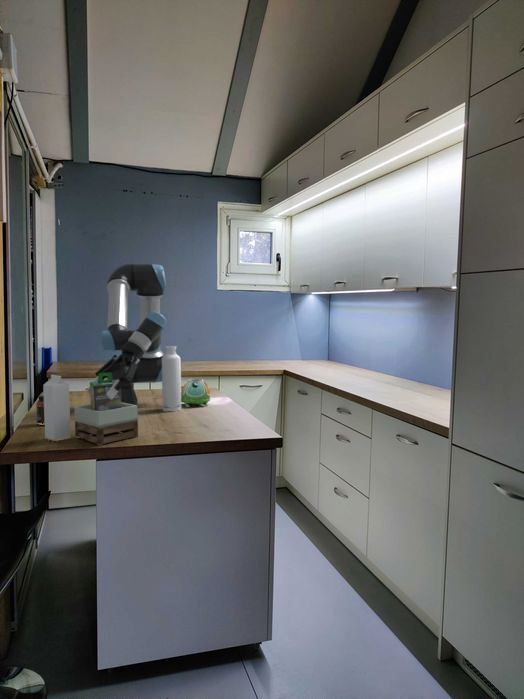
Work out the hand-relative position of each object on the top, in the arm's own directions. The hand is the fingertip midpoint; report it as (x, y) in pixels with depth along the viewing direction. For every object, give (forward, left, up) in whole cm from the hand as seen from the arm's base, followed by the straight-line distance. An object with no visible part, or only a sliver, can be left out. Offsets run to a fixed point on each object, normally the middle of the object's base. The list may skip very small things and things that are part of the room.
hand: (98, 395), depth 171 cm
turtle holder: (-22, +62, -15) cm, 67 cm away
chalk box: (0, +3, -8) cm, 8 cm away
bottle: (-21, +49, -15) cm, 55 cm away
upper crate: (0, +3, -9) cm, 10 cm away
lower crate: (0, +3, -15) cm, 15 cm away
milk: (-11, -9, -15) cm, 21 cm away
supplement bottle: (-36, -1, -15) cm, 39 cm away
